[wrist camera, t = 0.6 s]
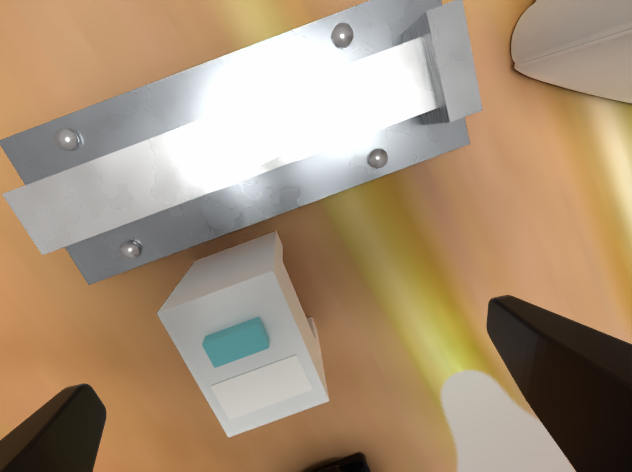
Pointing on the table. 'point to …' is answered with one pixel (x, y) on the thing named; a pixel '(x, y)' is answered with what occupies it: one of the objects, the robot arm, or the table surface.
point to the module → (246, 336)
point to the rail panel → (223, 97)
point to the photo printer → (577, 46)
